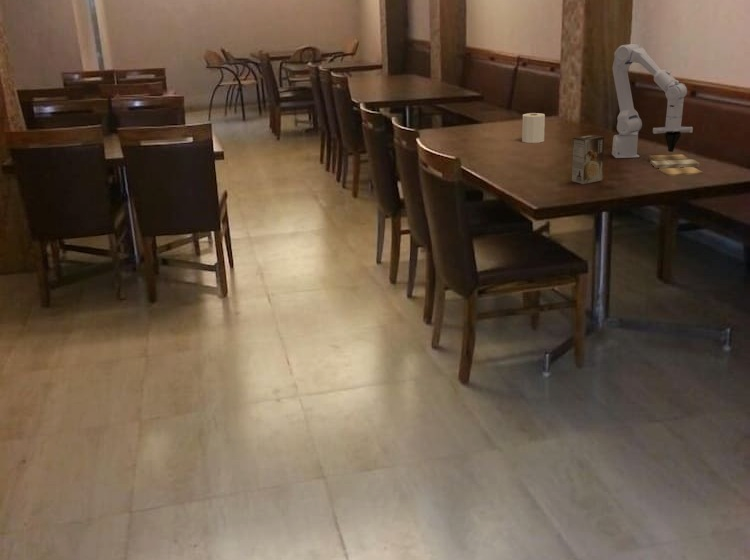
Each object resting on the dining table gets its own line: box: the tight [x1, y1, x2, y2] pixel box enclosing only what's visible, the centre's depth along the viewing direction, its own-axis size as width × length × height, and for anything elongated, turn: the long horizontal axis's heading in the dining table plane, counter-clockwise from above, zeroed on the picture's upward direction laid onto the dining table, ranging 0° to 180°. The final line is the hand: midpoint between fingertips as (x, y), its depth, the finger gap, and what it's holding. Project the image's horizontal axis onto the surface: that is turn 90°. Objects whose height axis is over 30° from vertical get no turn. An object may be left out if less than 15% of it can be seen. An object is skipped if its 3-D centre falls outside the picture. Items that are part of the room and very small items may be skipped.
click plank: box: [648, 153, 689, 161], centre depth 302 cm, size 13×9×1 cm
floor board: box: [650, 158, 700, 169], centre depth 294 cm, size 16×8×2 cm, turn 86°
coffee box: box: [571, 134, 605, 185], centre depth 275 cm, size 9×6×16 cm
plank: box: [658, 167, 704, 177], centre depth 284 cm, size 13×9×1 cm
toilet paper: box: [521, 112, 546, 144], centre depth 351 cm, size 10×10×12 cm
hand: (670, 151), depth 299 cm, fingers closed
